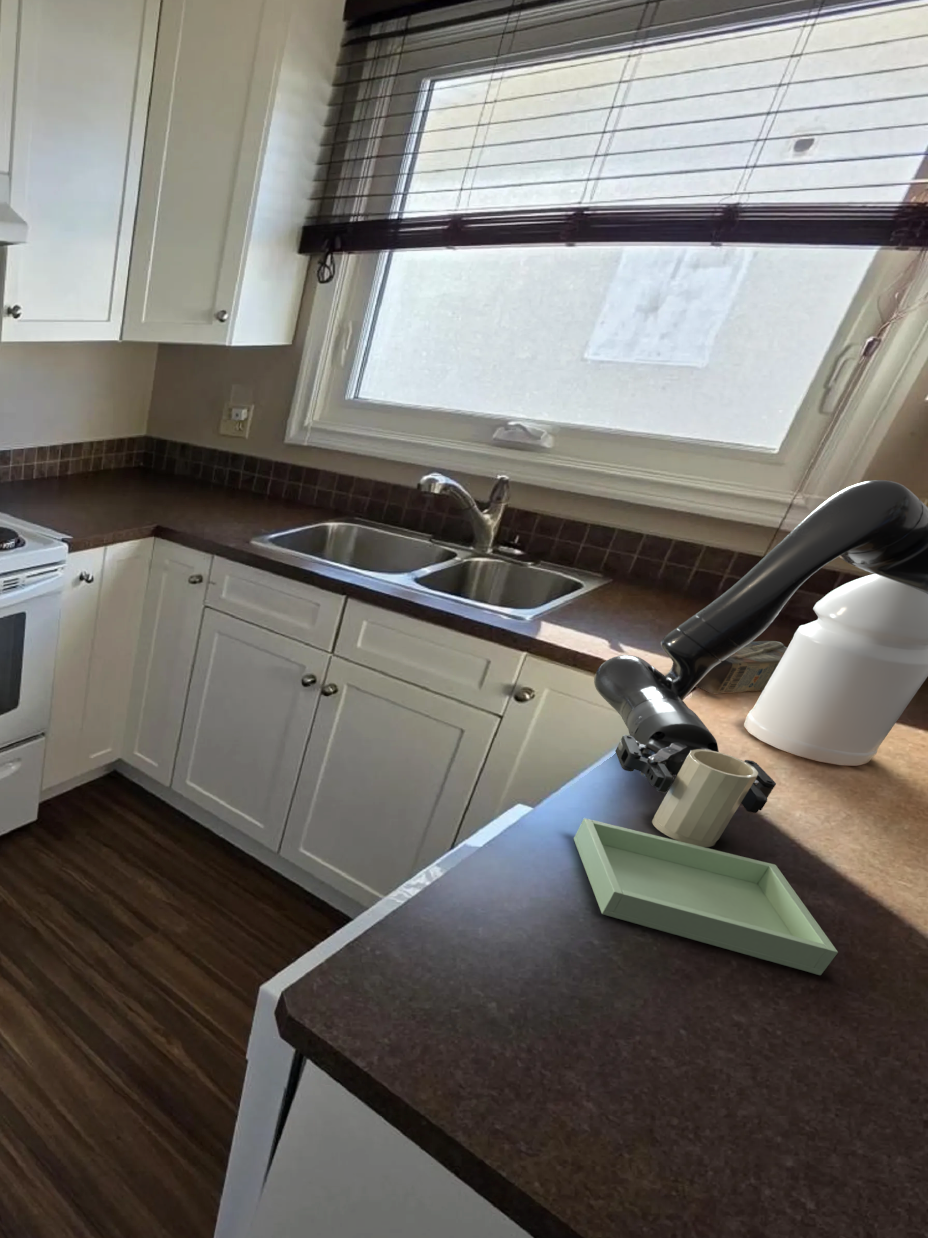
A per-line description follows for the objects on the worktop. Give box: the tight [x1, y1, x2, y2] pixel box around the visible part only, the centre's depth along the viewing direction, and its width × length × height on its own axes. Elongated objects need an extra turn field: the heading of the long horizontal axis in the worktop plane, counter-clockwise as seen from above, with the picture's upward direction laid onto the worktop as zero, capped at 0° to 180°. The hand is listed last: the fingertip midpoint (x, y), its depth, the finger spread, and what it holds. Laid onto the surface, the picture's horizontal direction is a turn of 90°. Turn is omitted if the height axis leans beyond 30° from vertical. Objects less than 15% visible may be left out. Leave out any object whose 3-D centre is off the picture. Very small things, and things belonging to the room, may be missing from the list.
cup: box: [651, 749, 758, 848], centre depth 96 cm, size 6×6×10 cm
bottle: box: [743, 573, 928, 767], centre depth 113 cm, size 14×14×28 cm
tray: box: [573, 817, 839, 976], centre depth 86 cm, size 18×15×3 cm
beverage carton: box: [695, 640, 788, 695], centre depth 136 cm, size 8×19×7 cm, turn 102°
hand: (710, 795), depth 94 cm, fingers open, 8 cm apart
